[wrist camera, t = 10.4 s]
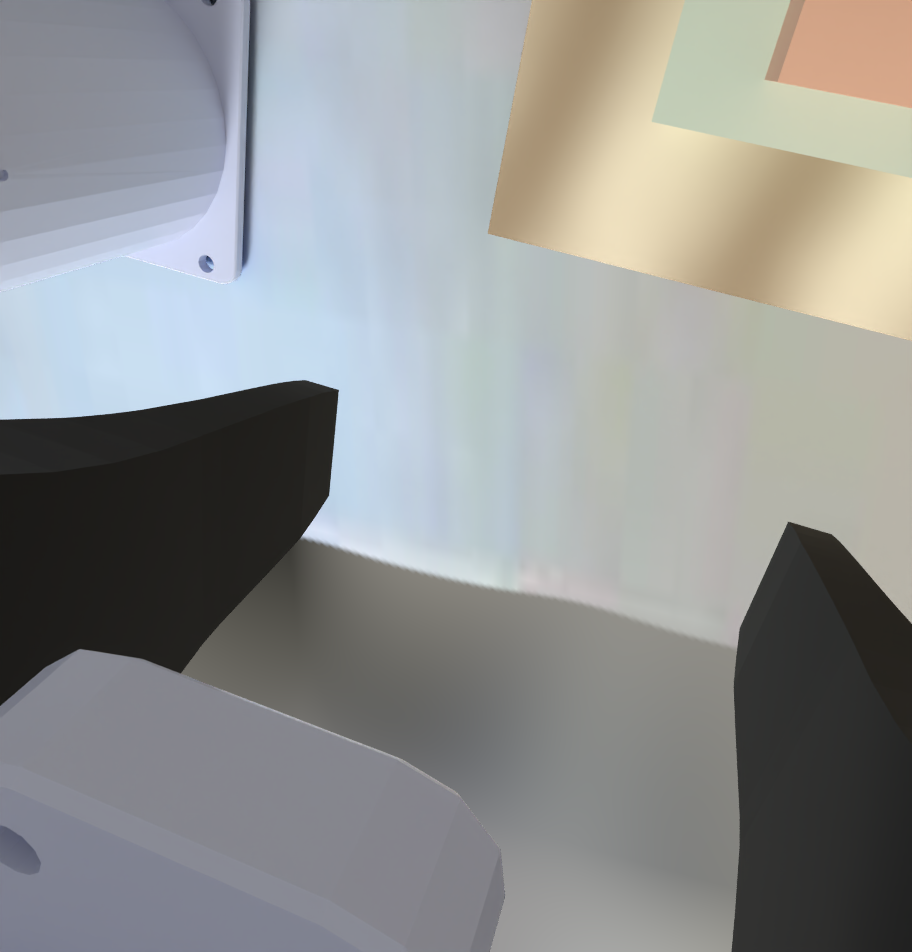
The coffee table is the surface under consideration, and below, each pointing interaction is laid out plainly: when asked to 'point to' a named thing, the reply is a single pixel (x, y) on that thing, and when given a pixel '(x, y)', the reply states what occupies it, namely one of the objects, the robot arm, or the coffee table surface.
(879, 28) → the terracotta brick
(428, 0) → the coffee table surface
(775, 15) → the sage brick
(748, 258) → the baseplate
